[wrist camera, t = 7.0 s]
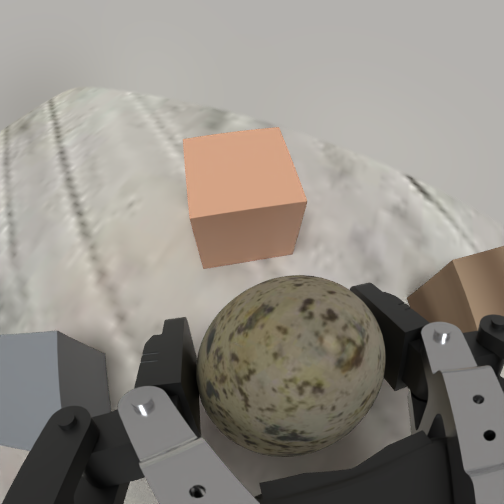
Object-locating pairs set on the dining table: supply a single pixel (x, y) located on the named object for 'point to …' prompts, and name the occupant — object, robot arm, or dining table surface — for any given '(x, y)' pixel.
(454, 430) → the robot arm
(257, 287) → the decorative egg
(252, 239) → the terracotta block
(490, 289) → the walnut block
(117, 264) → the dining table surface
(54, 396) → the charcoal block
